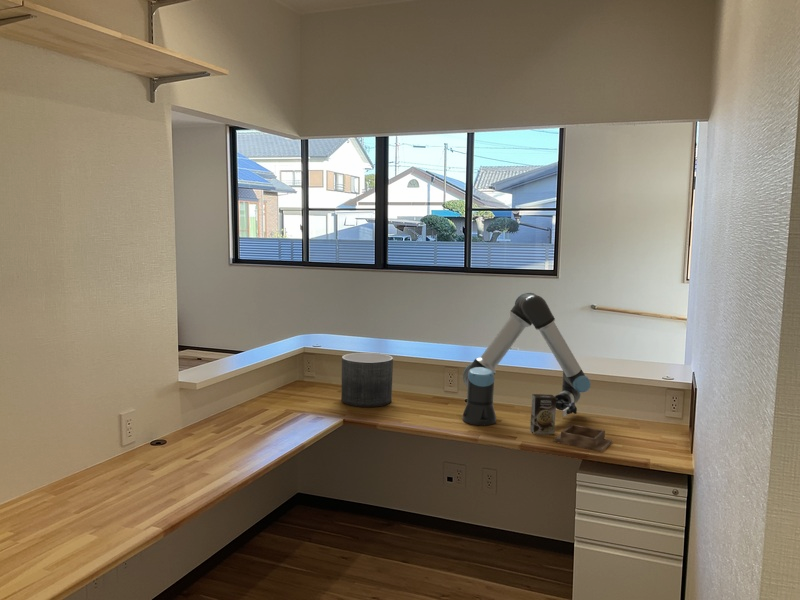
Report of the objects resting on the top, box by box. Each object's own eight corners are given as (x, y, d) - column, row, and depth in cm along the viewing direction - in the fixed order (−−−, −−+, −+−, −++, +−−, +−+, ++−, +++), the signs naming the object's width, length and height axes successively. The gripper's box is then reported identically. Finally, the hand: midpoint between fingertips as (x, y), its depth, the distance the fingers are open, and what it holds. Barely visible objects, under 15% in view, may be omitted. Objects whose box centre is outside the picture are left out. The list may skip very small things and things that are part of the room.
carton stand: (553, 441, 249) (553, 430, 248) (564, 433, 260) (564, 422, 260) (602, 452, 238) (603, 440, 237) (611, 442, 249) (612, 432, 249)
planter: (397, 397, 312) (398, 354, 310) (383, 409, 288) (384, 364, 285) (351, 392, 319) (352, 351, 316) (333, 404, 294) (334, 359, 292)
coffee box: (533, 434, 257) (535, 397, 255) (529, 429, 263) (531, 393, 262) (554, 434, 257) (556, 397, 256) (550, 430, 264) (552, 394, 262)
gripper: (590, 413, 273) (576, 424, 256) (537, 404, 287) (520, 414, 269) (591, 397, 273) (577, 407, 255) (537, 388, 286) (521, 397, 268)
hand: (547, 410), depth 262 cm, fingers open, 13 cm apart
